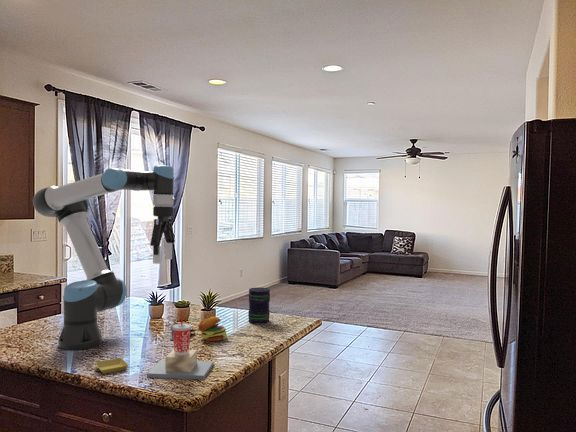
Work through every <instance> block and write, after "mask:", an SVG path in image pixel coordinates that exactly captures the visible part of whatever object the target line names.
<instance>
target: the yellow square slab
mask: <svg viewBox="0 0 576 432" xmlns="http://www.w3.org/2000/svg"><path fill="white" fill-rule="evenodd" d="M94 364H95V365H96V367H97V368H98V369H99V371H100V372H101V373H102V374H103V375H105V374H110V373H111V374H112V373H115V372H120V371H121V372H122V371H126V369H127V368H128V367H129V364H128V363H127V362H126V361H125V360H124V358H123V357H118V358H113V359H112V358H111V359H106V360H100V361H96V362H94Z"/></svg>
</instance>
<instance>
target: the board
mask: <svg viewBox="0 0 576 432" xmlns="http://www.w3.org/2000/svg"><path fill="white" fill-rule="evenodd" d="M165 360H166V359H160V360H159V361H158V362H157V363H155V365H154V366H153V367H152V368H151V369H150V370H149V371H147V373H146V378H158V379H159V378H160V379H180V380H181V379H182V380H184V379H186V380H205V378H206V377H207V376H208V375H209V374H208V373H210V372H211V370H212V368H213V367H214V361H213V360H212V361H210V360H208V361H207V360H197V364H196V365H195V367H194V368H193V369H192V371H191V372H175V371H165Z"/></svg>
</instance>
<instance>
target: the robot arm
mask: <svg viewBox="0 0 576 432" xmlns="http://www.w3.org/2000/svg"><path fill="white" fill-rule="evenodd" d="M174 173H175V171H174V167H173V166H172V165H154V166H153V170H150V171H147V170H145V171H144V170H134V169H125V168H119V167H110V168H107V169H105V170H104V172H103V173H100V174H96V175H93V176H90V177H87V178H83V179H80V180H77V181H74V182H70V183H67V184H64V185H60V186H55V185H52V186H48V187H44V188H41V189H39V190H38V191H37V192H36V193H35V194H34V195H33V198H32V205H33V208H34V211H36V212H37V213H38V214H39V215H41V216H43V217H47V218H57V221H58V223H59V225H60V226H63V227H65V229H66V232H67V234H68V236H69V239H70V241H71V244H72V245H73V248H74V250H75V253H76V255H77V258H78V260H79V262H80V265H81V266H82V269H83V272H84V275H85V276H86V280H85V279H84V280H78V281H74V282H73V281H72V282H71V283H68V284H66V286H65V287H64V289H63V297H62V299H63V325H62V326H63V327H62V329H61V332H60V335H59V338H58V344H57V346H58V348H59V349H62V350H68V351H70V350H71V351H74V350H76V351H77V350H79V351H80V350H87V349H90V348H91V349H92V348H94V347H97V346H99V345H101V344H102V342H103V337H102V333H101V329H100V327H99V324H98V313H99V312H100V313H101V312H103V311H107V310H111V309H115V307H116V308H117V307H119V306H120V305H122V304H123V303H124V301H125V299H126V297H127V292H128V290H127V285H126V283H125V282H124V280H123V279H121V278H118V277H116V275H115V273H114V271H112V270H109V269H108V266H107V264H106V261H105V260H104V257H103V255H102V252H101V251H100V250H101V249H100V248H99V245H98V243H97V241H96V238H95V236H94V234H93V232H92V228H91V227H90V224H89V221H88V219H87V218H88V216H89V210H90V207H89V206H90V200H89V199H93V198H96V197H99V196H103V195H106V194H110V193H113V192H117V191H121V190H123V191H124V190H125V191H137V192H140V191H153V194H152V195H153V196H152V197H153V198H152V199H153V200H152V205H154V206H153V208H152V210H153V212H152V215H153V216H154V217H157V218H154V220H153V227H152V232H151V233H152V234H151V239H150V242H149V243H150V244H149V245H150V247H152V264H156V265H157V264H159V265H161V263H162V260H161V259H162V253H161V252H162V251H161V249H162V246H161V243H162V239H163V236H164V240H165V242H164V260H173V244H174V243H175V242H176V240H175V234H174V230H173V218H172V217H173V216H174V207H173V206H174V201H175V197H174V185H175V184H174V183H175V182H174V181H175V175H174Z"/></svg>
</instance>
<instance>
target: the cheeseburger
mask: <svg viewBox="0 0 576 432" xmlns="http://www.w3.org/2000/svg"><path fill="white" fill-rule="evenodd" d="M219 322H221V319H220V318H219V317H218V316H211V317H208V318H205V319H202V320H201V321H200V322H199V324H198V327H197V328H198V330H199V331H200V332H201V337H202V339H203V340H204V341H206V342H217V341H221V340H223V341H224V340H226V339H227V337H228V335H227V329H226V327H225V326H224V325H220V323H219Z"/></svg>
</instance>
